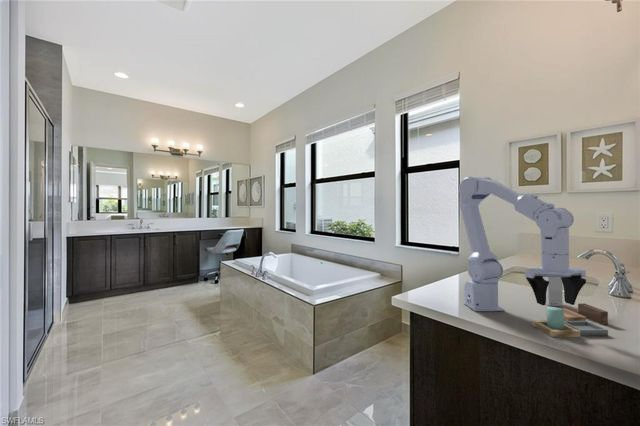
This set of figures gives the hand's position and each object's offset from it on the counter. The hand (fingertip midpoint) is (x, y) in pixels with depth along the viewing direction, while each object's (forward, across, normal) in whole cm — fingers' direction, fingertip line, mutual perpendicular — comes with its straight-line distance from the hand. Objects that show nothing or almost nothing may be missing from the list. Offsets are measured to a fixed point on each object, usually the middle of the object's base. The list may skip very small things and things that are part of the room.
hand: (555, 303), depth 75 cm
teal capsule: (+7, 0, 0) cm, 7 cm away
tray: (+7, +8, 0) cm, 11 cm away
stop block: (+7, +17, +8) cm, 20 cm away
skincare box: (+8, +16, +22) cm, 28 cm away
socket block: (+7, 0, 0) cm, 7 cm away
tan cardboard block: (+8, +10, +8) cm, 14 cm away
